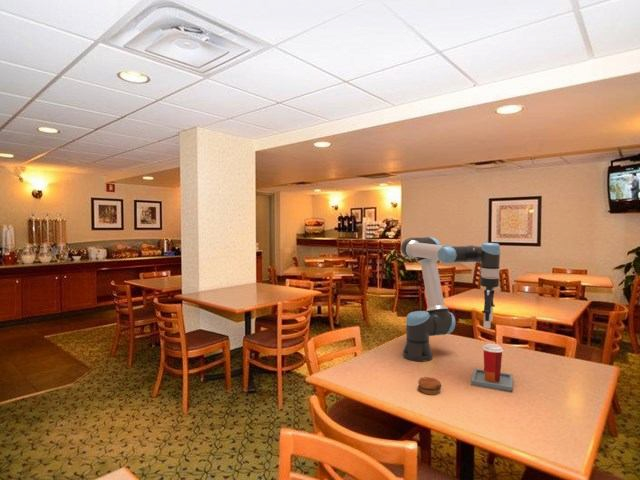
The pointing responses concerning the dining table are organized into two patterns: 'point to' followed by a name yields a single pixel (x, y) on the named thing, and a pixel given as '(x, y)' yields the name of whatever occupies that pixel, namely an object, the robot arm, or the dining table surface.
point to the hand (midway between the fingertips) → (488, 324)
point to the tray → (503, 384)
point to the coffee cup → (492, 362)
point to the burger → (429, 385)
